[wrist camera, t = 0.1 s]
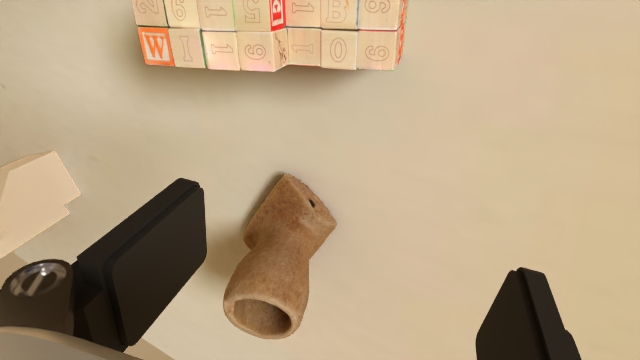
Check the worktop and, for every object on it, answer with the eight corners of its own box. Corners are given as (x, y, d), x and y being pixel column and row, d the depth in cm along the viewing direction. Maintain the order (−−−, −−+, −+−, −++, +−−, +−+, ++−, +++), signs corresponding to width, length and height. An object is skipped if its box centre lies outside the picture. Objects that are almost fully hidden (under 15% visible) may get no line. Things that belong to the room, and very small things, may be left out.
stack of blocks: (411, -16, 34) (399, -13, 24) (403, 53, 37) (390, 83, 27) (207, -19, 39) (124, -17, 29) (214, 43, 42) (142, 65, 32)
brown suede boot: (303, 278, 56) (264, 366, 44) (239, 232, 55) (181, 308, 43) (363, 220, 48) (336, 306, 35) (290, 165, 47) (236, 233, 35)
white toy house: (49, 216, 66) (-21, 259, 56) (12, 159, 62) (-72, 195, 51) (91, 211, 62) (24, 257, 52) (54, 150, 58) (-27, 187, 48)
